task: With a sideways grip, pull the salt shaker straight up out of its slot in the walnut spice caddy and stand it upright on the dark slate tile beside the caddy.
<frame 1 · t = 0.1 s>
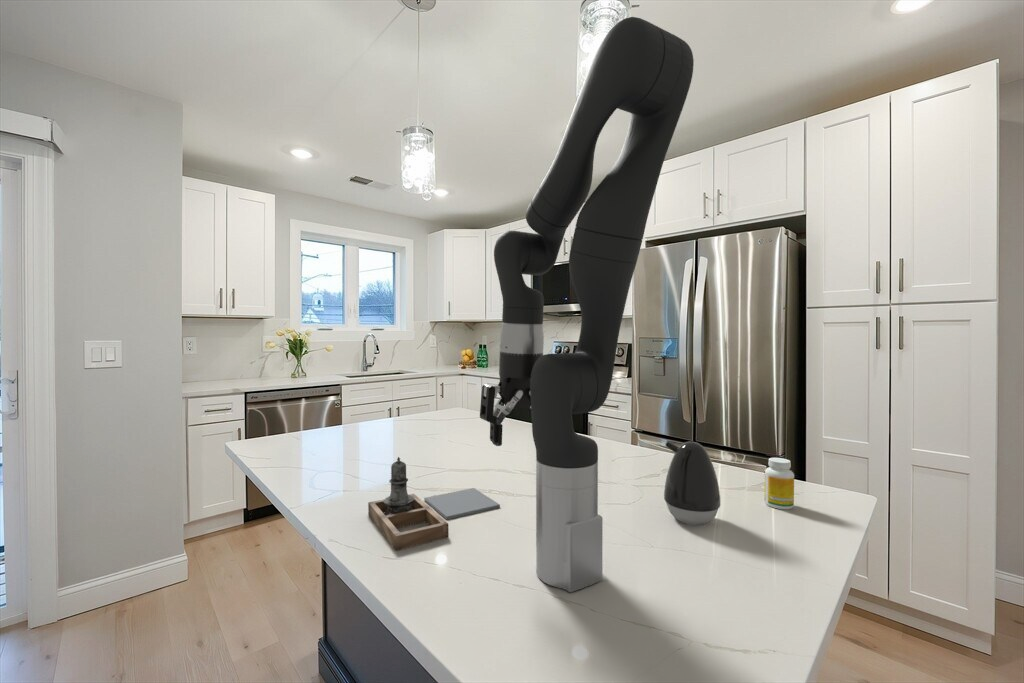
hand: (518, 441, 80), 17 cm above the counter, tool pointing down, fingers open, 8 cm apart
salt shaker: (399, 518, 90), resting in spice caddy
supplement bottle: (778, 506, 96), on the counter
spice caddy: (406, 525, 87), on the counter
pump dispenser: (691, 520, 89), on the counter
slate tile: (461, 503, 97), on the counter
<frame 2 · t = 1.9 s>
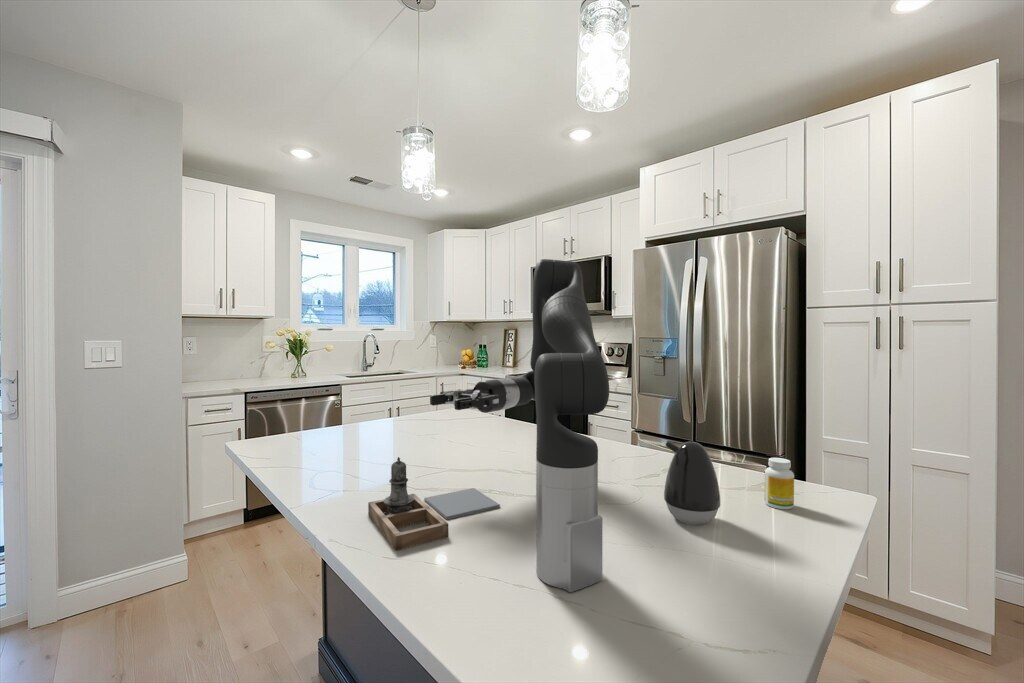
hand: (443, 402, 98), 21 cm above the counter, tool horizontal, fingers open, 8 cm apart
nothing on the counter moved.
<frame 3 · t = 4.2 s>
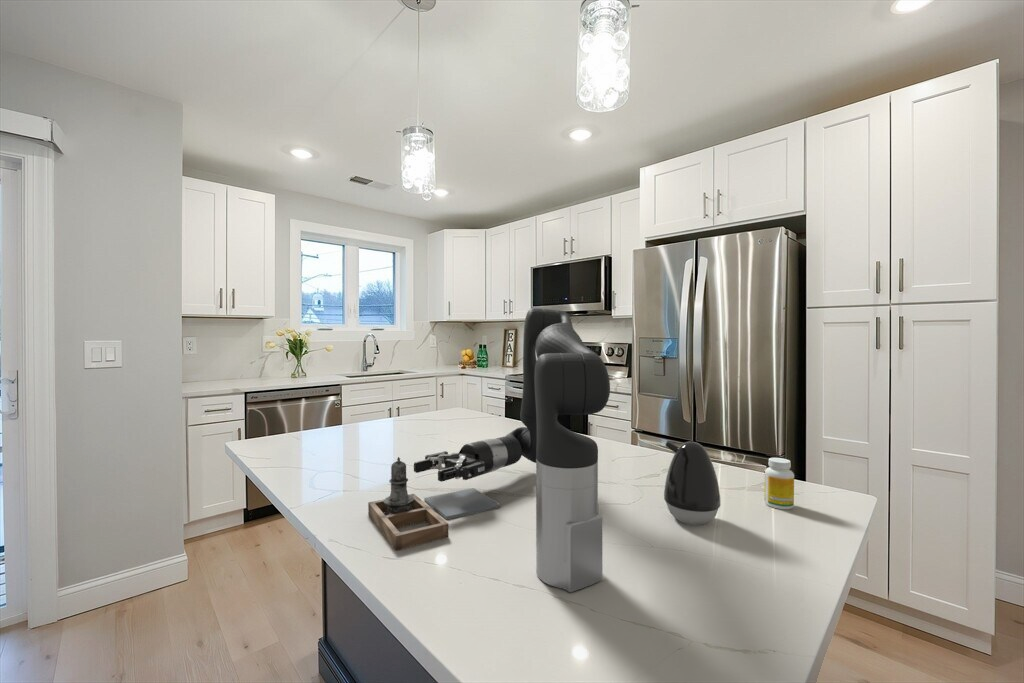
hand: (426, 472, 95), 7 cm above the counter, tool horizontal, fingers open, 8 cm apart
nothing on the counter moved.
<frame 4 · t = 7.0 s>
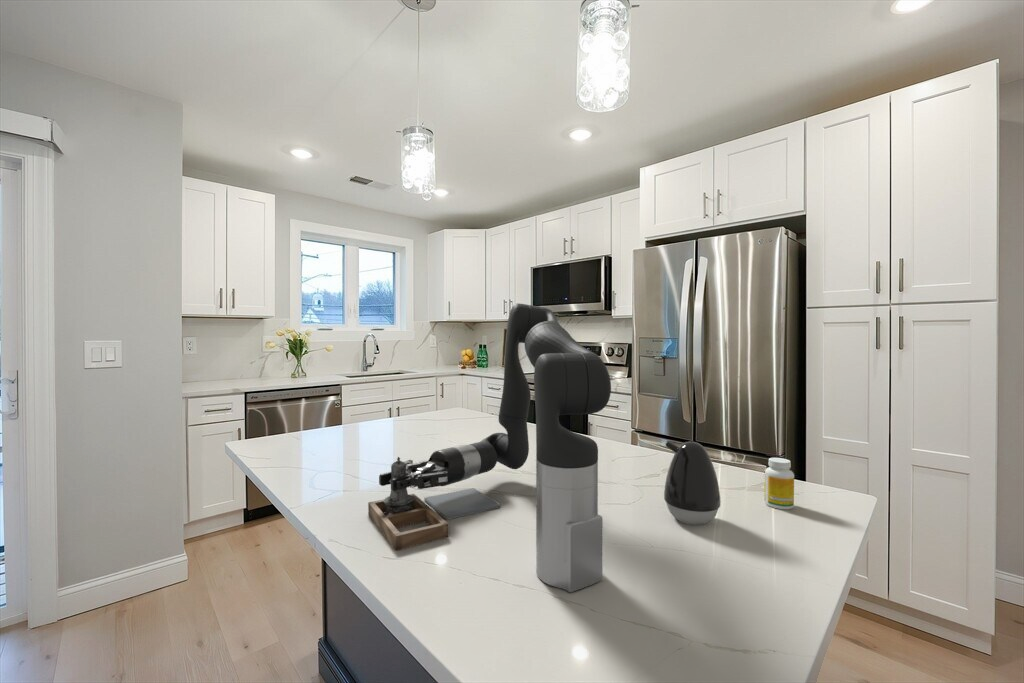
hand: (386, 482, 88), 8 cm above the counter, tool horizontal, fingers closed on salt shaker, 3 cm apart
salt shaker: (399, 518, 90), resting in spice caddy, touching gripper
everything else where it was.
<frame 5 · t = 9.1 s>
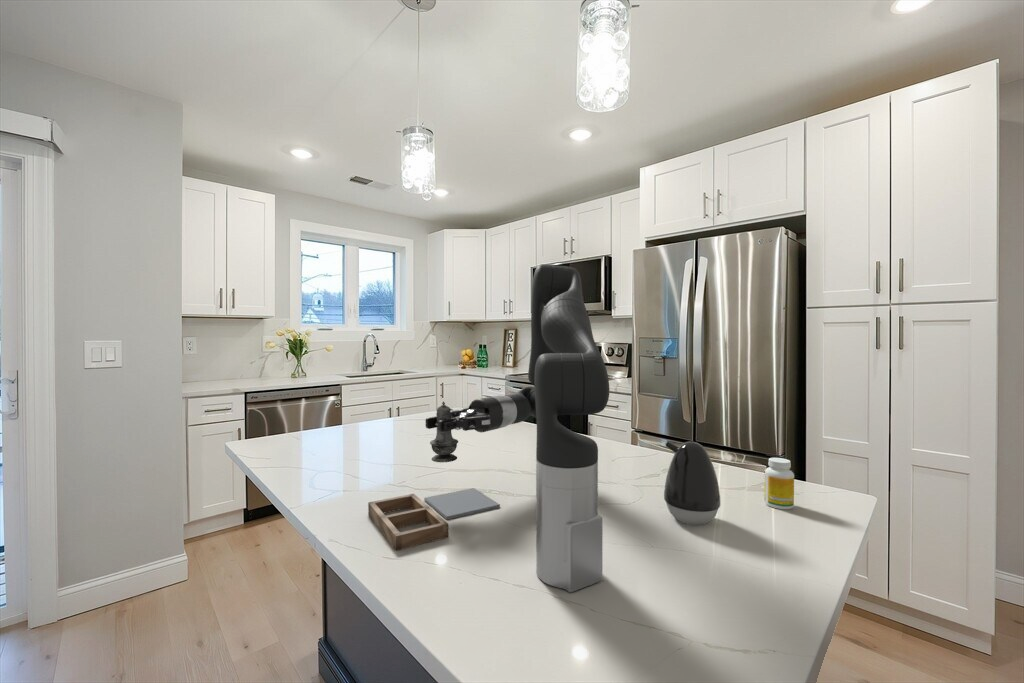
hand: (433, 425, 93), 18 cm above the counter, tool horizontal, fingers closed on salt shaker, 3 cm apart
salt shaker: (444, 459, 95), point 10 cm above the counter, touching gripper
everything else where it was.
when the fingers open (9 cm above the counter, at t = 11.7 s): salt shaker drops 1 cm, resting on slate tile.
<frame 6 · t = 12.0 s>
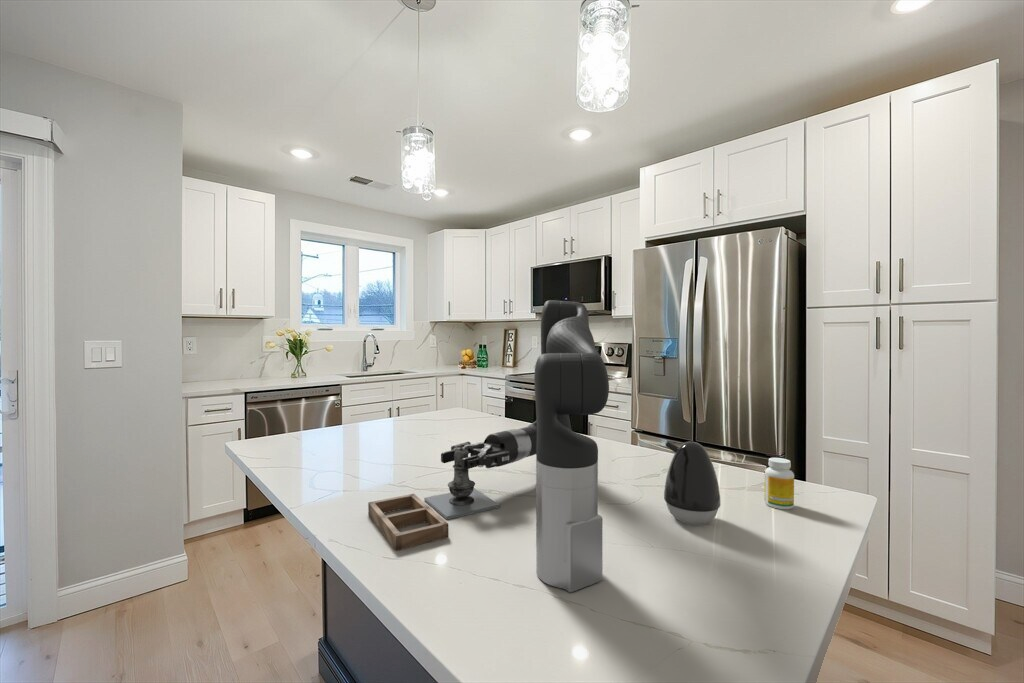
hand: (452, 461, 95), 10 cm above the counter, tool horizontal, fingers open, 6 cm apart
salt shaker: (461, 501, 97), resting on slate tile
everything else where it was.
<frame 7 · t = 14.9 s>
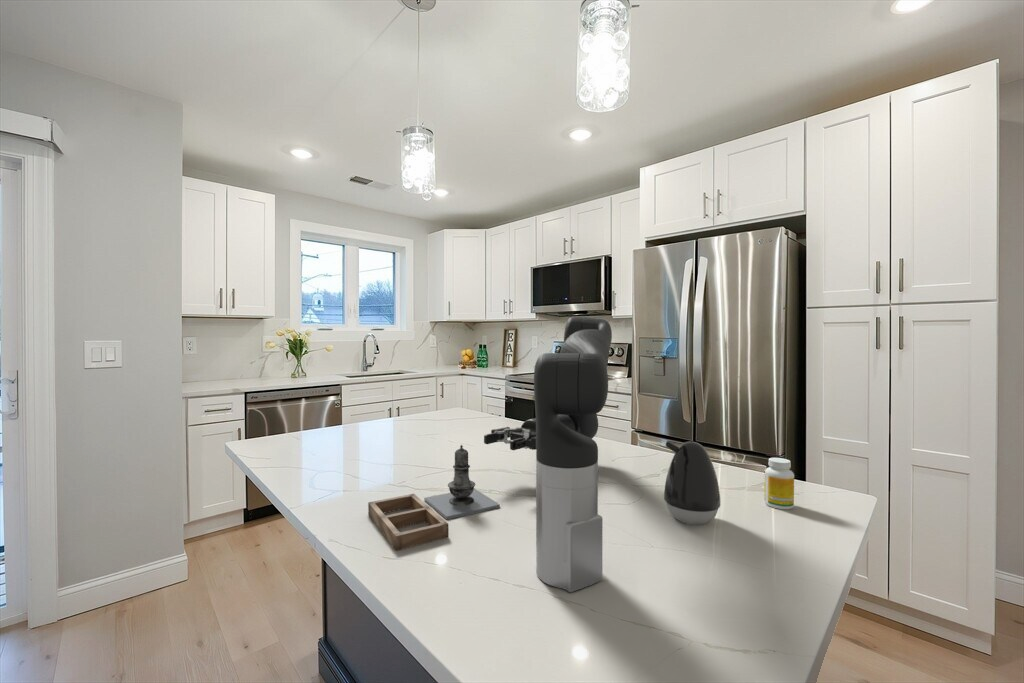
hand: (497, 442, 105), 11 cm above the counter, tool horizontal, fingers open, 8 cm apart
nothing on the counter moved.
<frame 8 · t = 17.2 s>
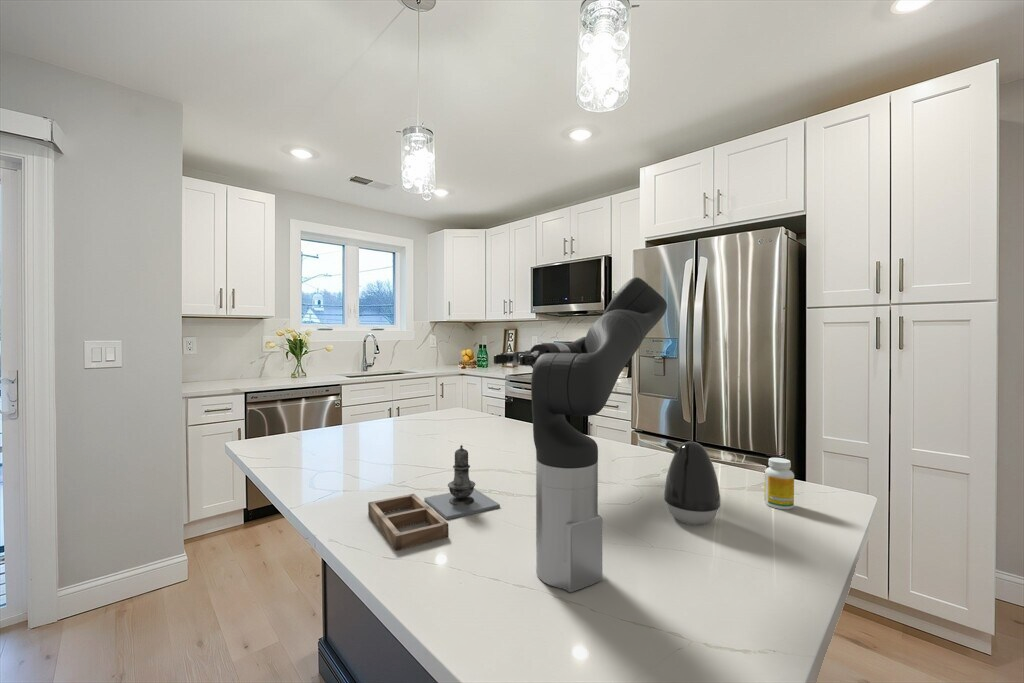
hand: (507, 360, 107), 30 cm above the counter, tool horizontal, fingers open, 8 cm apart
nothing on the counter moved.
at the end: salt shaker inside the target area on the slate tile (0.1 cm from its centre), point 0.4 cm above the slate tile's base; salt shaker tilted 0°; the gripper is holding nothing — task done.
